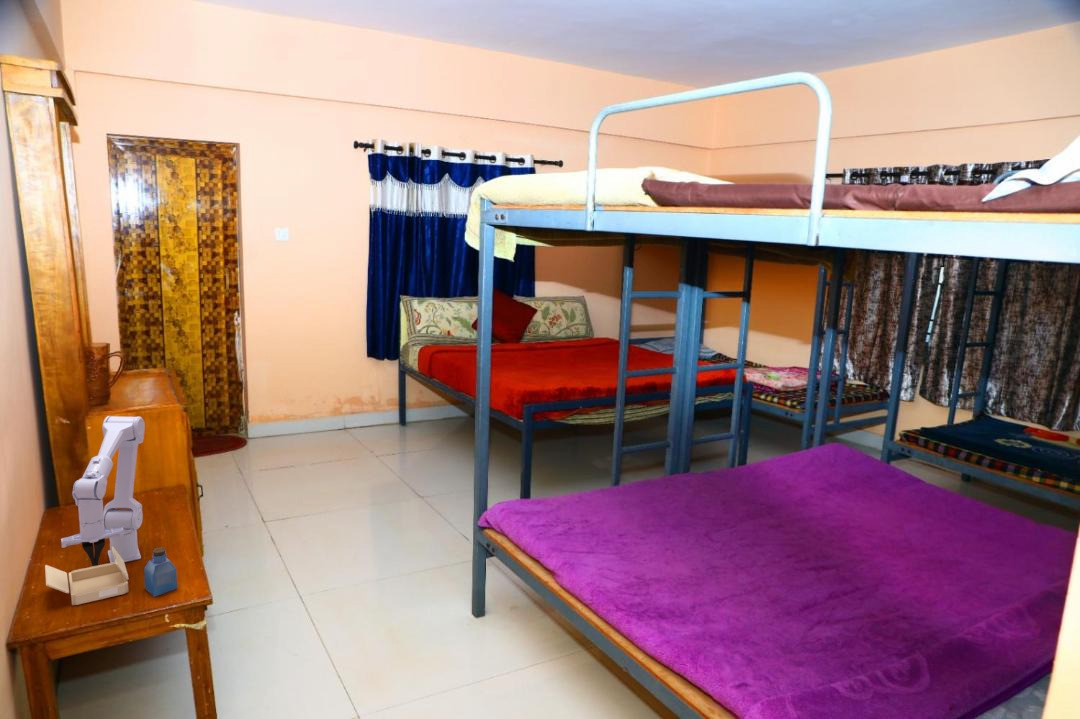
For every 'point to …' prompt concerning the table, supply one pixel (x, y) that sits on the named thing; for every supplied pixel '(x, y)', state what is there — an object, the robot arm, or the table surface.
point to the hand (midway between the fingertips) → (94, 564)
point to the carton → (96, 583)
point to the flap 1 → (56, 579)
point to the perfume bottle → (160, 574)
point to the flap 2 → (120, 562)
